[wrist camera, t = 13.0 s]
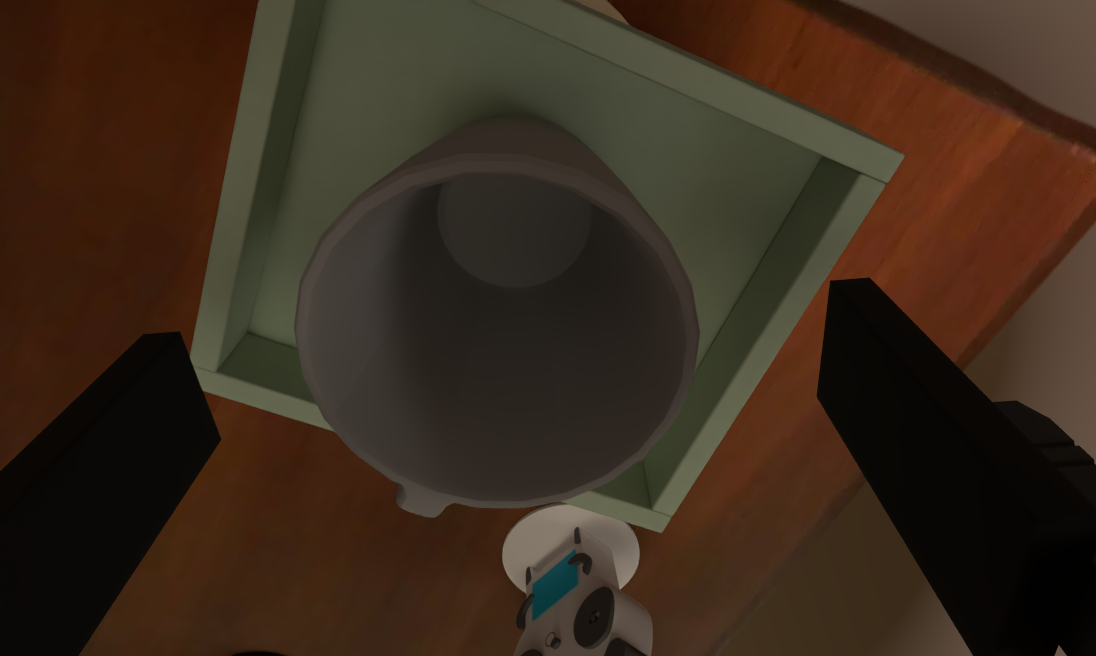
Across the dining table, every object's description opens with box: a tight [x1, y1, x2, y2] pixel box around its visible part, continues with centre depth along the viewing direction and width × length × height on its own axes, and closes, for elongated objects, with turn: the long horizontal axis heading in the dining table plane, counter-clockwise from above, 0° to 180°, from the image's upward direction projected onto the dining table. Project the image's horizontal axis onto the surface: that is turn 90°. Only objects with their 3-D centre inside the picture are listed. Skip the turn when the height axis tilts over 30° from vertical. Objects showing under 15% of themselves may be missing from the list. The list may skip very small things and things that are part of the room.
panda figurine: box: [502, 502, 653, 656], centre depth 51 cm, size 12×11×15 cm
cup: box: [294, 114, 700, 518], centre depth 17 cm, size 8×10×8 cm
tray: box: [190, 0, 905, 533], centre depth 30 cm, size 16×14×25 cm
